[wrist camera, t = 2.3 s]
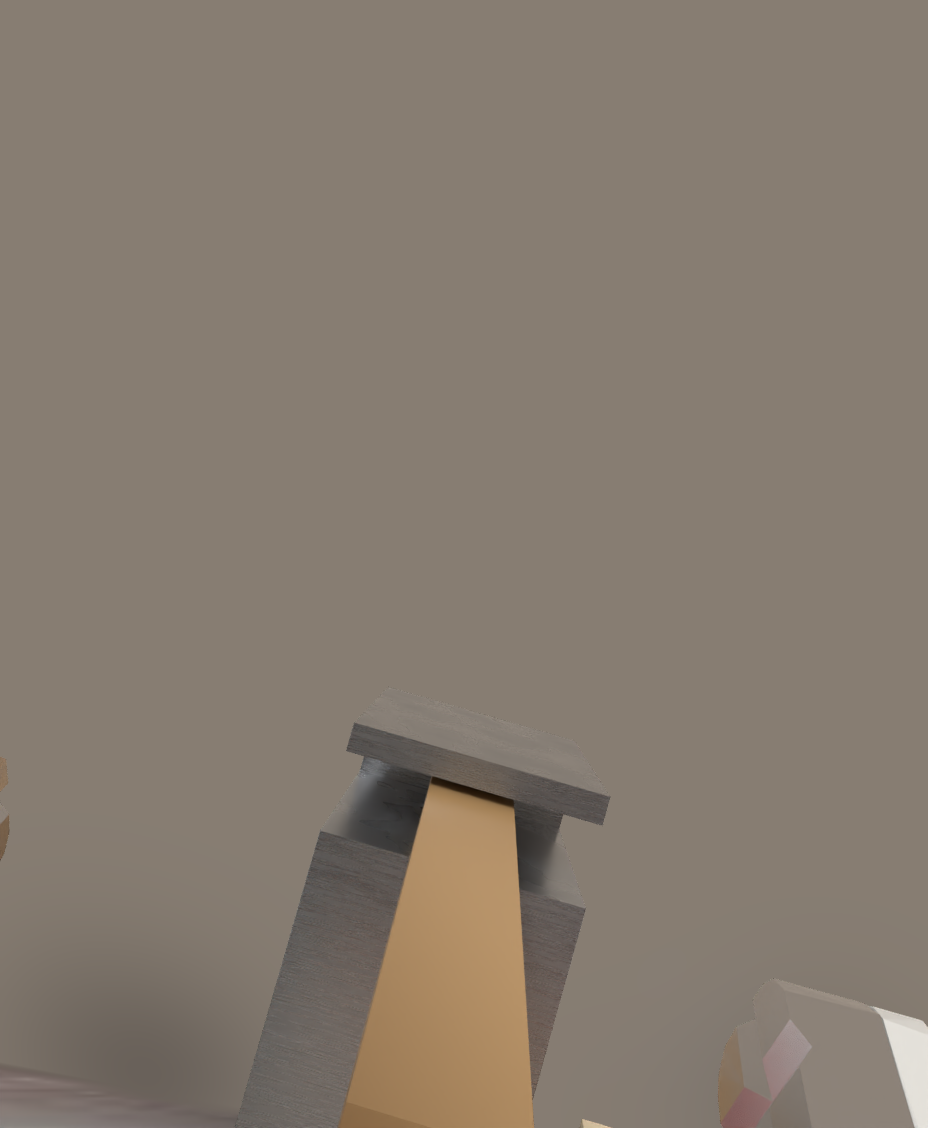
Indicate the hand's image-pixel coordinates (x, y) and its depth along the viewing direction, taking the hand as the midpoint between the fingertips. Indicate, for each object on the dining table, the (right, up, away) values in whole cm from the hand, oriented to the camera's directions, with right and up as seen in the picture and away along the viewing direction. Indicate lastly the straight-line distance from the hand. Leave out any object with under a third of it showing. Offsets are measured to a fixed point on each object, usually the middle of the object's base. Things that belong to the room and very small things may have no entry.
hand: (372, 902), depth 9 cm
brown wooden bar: (0, -7, +15) cm, 17 cm away
